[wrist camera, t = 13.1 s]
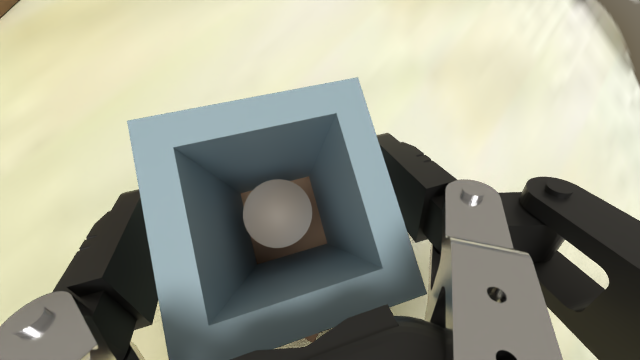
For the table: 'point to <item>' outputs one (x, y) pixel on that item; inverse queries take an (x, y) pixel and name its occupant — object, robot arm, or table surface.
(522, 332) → the robot arm
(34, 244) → the table surface
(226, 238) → the collar
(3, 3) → the frame
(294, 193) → the pin stand
